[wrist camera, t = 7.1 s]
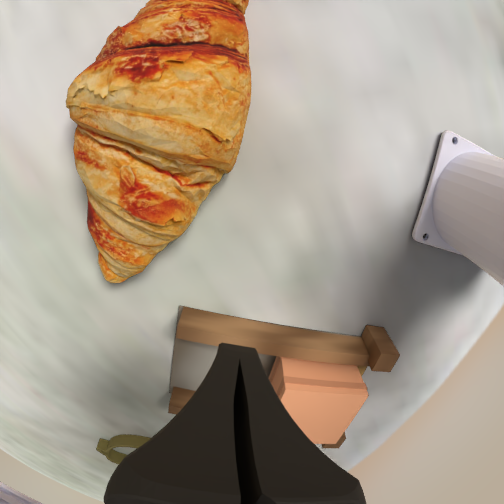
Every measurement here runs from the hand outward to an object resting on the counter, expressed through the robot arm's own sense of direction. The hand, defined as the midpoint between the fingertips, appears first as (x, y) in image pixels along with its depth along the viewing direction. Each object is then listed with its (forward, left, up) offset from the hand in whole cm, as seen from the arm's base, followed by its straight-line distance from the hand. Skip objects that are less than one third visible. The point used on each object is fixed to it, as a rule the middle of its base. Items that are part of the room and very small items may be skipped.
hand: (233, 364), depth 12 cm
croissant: (+7, -8, -10) cm, 15 cm away
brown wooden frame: (-4, +9, -10) cm, 14 cm away
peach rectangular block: (-7, +9, -9) cm, 15 cm away
